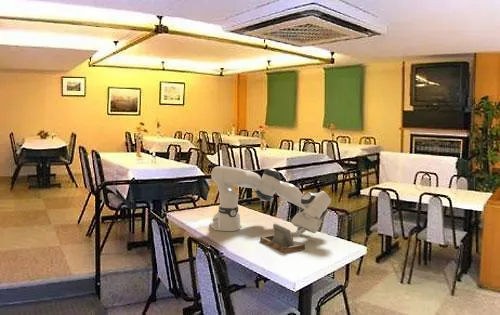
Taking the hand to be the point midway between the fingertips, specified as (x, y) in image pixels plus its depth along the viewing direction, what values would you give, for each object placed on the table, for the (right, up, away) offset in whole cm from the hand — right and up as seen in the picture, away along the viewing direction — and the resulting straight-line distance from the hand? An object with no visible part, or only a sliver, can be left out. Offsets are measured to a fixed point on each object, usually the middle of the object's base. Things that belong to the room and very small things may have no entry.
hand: (297, 234), depth 255 cm
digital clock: (-8, -5, -4) cm, 11 cm away
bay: (-9, -5, -5) cm, 12 cm away
